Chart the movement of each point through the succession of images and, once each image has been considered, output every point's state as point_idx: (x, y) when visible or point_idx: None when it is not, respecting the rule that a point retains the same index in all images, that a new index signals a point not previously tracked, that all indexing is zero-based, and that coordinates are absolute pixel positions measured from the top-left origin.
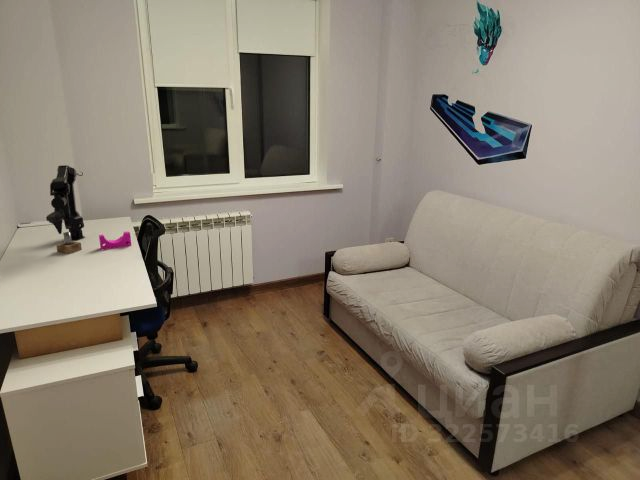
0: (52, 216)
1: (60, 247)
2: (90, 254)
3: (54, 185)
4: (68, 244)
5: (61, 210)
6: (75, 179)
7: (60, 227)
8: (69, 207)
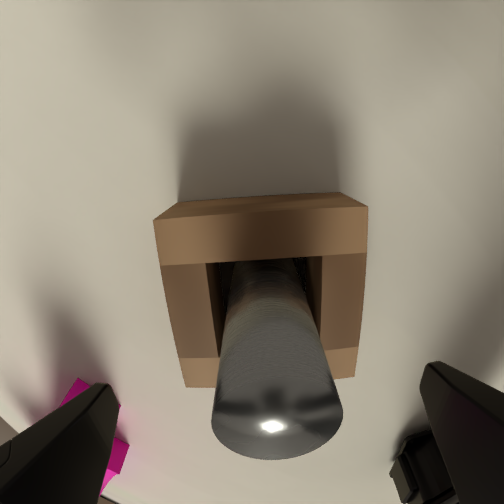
0: None
1: (295, 205)
2: (32, 272)
3: None
4: (234, 287)
5: None
6: None
7: (467, 469)
8: None
